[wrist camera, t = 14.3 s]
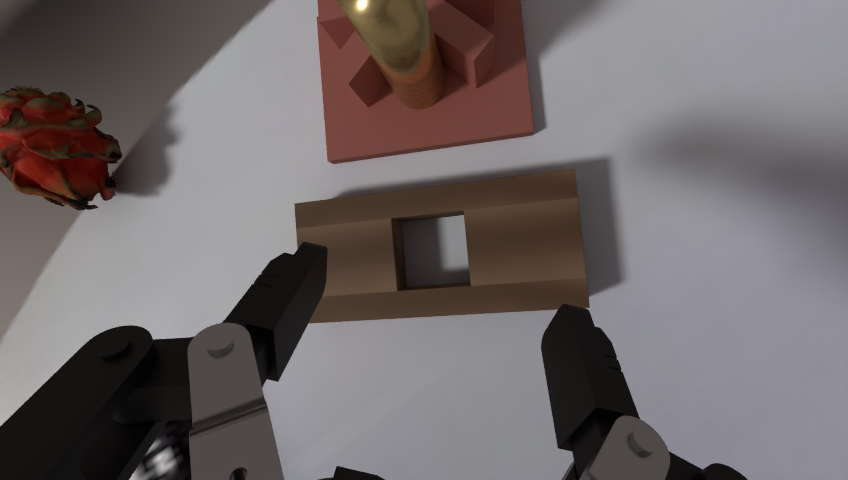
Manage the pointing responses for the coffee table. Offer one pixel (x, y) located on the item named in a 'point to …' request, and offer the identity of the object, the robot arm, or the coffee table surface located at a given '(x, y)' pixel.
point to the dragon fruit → (55, 148)
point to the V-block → (464, 93)
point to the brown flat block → (486, 244)
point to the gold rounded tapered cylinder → (401, 47)
